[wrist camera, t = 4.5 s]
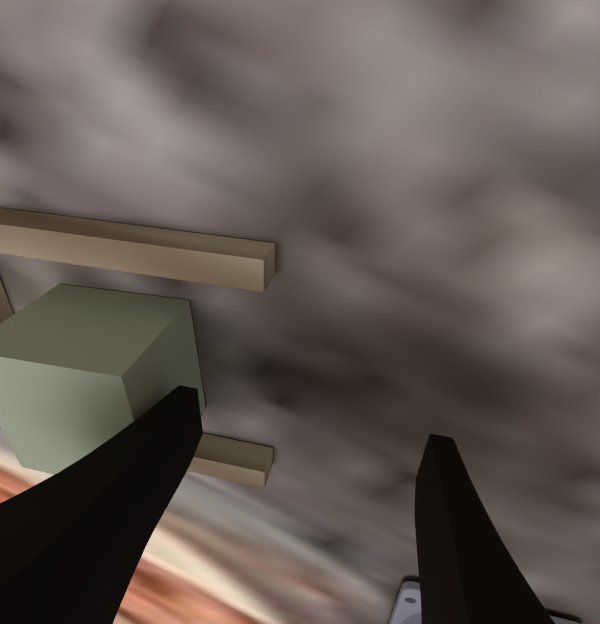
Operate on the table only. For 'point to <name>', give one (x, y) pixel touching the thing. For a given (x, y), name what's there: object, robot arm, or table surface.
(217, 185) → the table surface
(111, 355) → the sage block
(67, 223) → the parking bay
